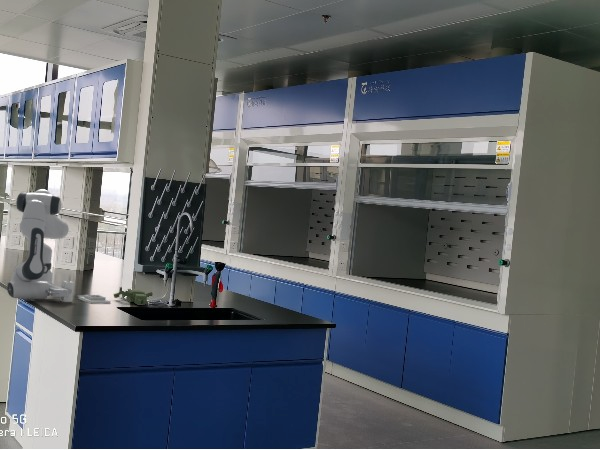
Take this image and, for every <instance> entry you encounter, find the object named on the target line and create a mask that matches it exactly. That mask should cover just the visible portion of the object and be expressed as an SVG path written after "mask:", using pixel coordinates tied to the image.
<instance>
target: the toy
mask: <svg viewBox="0 0 600 450" xmlns="http://www.w3.org/2000/svg"><path fill="white" fill-rule="evenodd" d="M122 287H123V286H120V287H119V292H115V293H113V298H115V299H118V298H120V295H121V297H122V298H124V297H125V296H127V297H126V299H125V300H126V301H127V302H128V301H129V302H128V303H130V302H134V303H136V304H146V305H147V303H148V298H147V297H149V296H152V297H153V295H154V294H153V291H150V292H147V293H145V291H143V290H142V291H140V290H131V288H127V290H128V291H127V290H125V291H122ZM122 298H121V299H122ZM134 303H133V304H134Z"/></svg>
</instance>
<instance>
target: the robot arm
mask: <svg viewBox="0 0 600 450" xmlns="http://www.w3.org/2000/svg"><path fill="white" fill-rule="evenodd" d="M17 195H18V196H17V197H16V199H15V205H16V206H15V207H16V209H17V210H18V211H19V212H21V213H22V217H21V221H20V223H19V231H20V232H21V234H22V236H24V237H25V238H26V239H27V241H28V242H29V249H28V255H27V256H28V257H27V259H26V260H25V261H23V262H21V263H19V264H17V265H16V266H15V267H14V269H13V273H12V277H11V279H10V280H9V281H8V283H7V287H6V288H7V289H6V290H7V293H8V295H9V296H10V298H14V299H17V300H19V299H20V300H28V299H34V300H46V299H47V298H48V297H50V296H51V297H57V298H58V297H59V298H60V297H67V296H68V293H72V290H71V289H68V290H67V289H64V288H62V287H61V286H59V285H56V284H53V272H52V271H51V270H52V257H53V249H52V248H51V247H50V245H48V244H46V243H45V242H44V239H52V240H53V239H54V240H59V239H60V240H61V239H65V238H66V237H67V235H68V234H69V225H68V223H67V222H66V221H64V220H63V219H61V218H60V217H58V216H57V215H58V214H59V213H60V211H61V209H62V204H63V203H62V200H61V197H60V196H58V195H55V194H51V193H50V191H48V190H46V189H44V188H41V189H38V190H37V189H36V191H35V192H28V191H23V192H20V193H19V194H17Z"/></svg>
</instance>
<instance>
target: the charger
mask: <svg viewBox="0 0 600 450" xmlns="http://www.w3.org/2000/svg"><path fill="white" fill-rule="evenodd" d="M60 287H62V288H64V289H67V290H68V289H71V290H72V293H68V296H67V297H59V301H61V302H62V303H72V302H73V297H74V288H75V282H74V281H71V280H62V281H61V285H60Z"/></svg>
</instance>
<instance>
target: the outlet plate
mask: <svg viewBox="0 0 600 450" xmlns="http://www.w3.org/2000/svg"><path fill="white" fill-rule="evenodd" d="M83 295H84V297H78V300H81V301H83V302H85V303H88V304H90V303H110V304H111V300H109V299H108V300H107V298H106V296H102V295H99V294H83Z"/></svg>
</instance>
